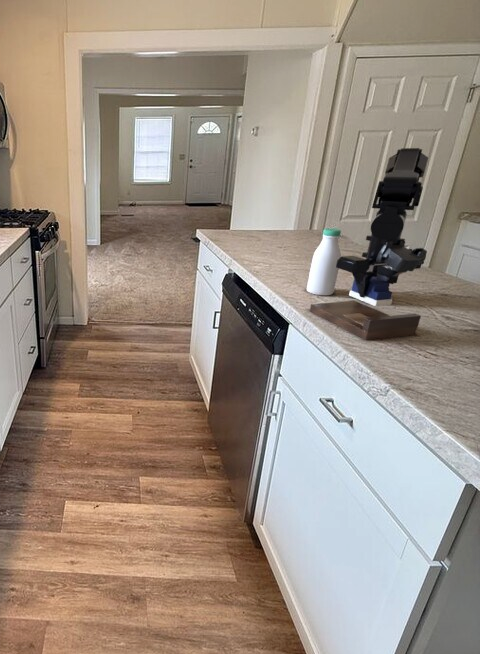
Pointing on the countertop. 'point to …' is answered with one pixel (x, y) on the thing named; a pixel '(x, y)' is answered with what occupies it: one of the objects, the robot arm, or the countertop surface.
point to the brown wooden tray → (366, 320)
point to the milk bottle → (325, 264)
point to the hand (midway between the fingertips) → (370, 296)
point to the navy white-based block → (374, 293)
